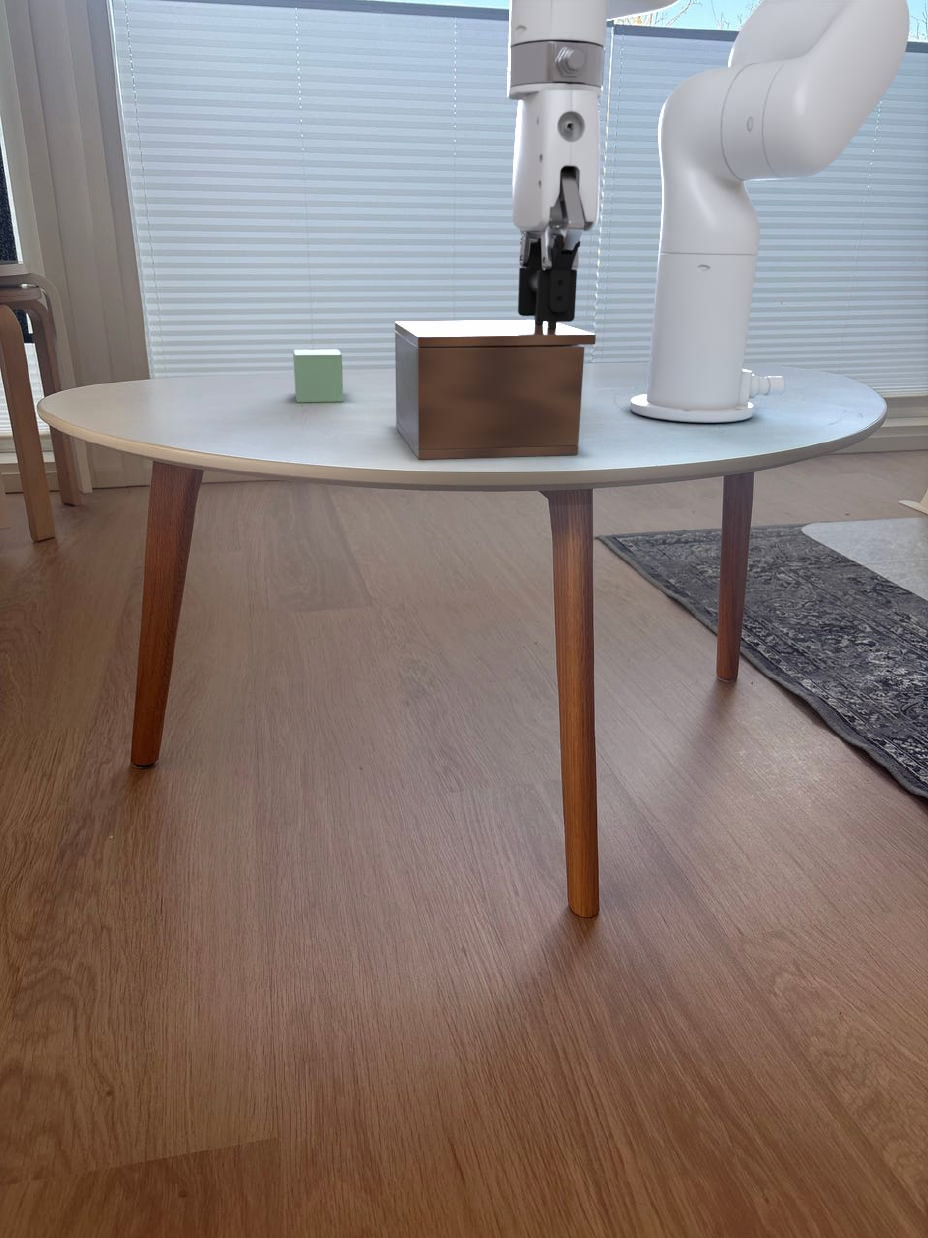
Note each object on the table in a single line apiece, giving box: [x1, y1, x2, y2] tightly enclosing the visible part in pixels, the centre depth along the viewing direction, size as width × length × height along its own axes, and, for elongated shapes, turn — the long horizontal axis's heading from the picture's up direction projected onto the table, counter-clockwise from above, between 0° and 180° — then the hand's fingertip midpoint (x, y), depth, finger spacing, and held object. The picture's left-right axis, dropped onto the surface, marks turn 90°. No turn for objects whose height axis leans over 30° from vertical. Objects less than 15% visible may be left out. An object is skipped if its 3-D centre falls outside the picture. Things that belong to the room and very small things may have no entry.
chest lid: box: [394, 271, 597, 347], centre depth 79 cm, size 14×14×5 cm
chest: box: [394, 331, 585, 461], centre depth 82 cm, size 14×14×9 cm
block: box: [292, 348, 344, 403], centre depth 102 cm, size 5×5×5 cm
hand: (545, 315), depth 80 cm, fingers closed on chest lid, 5 cm apart
